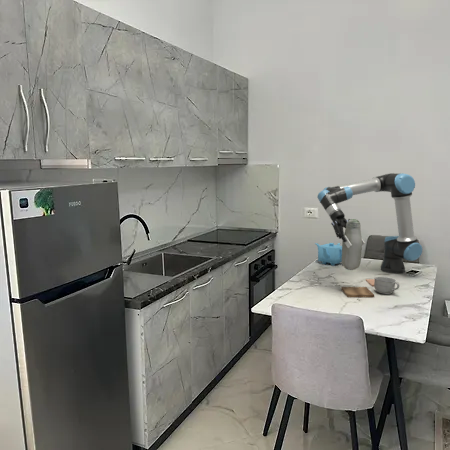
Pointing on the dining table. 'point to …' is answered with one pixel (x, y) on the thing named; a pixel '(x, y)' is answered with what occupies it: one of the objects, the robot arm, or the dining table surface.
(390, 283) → the teacup
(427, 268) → the dining table surface
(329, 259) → the teakettle
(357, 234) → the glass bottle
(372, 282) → the terracotta tile
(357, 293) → the walnut board
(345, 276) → the dining table surface
